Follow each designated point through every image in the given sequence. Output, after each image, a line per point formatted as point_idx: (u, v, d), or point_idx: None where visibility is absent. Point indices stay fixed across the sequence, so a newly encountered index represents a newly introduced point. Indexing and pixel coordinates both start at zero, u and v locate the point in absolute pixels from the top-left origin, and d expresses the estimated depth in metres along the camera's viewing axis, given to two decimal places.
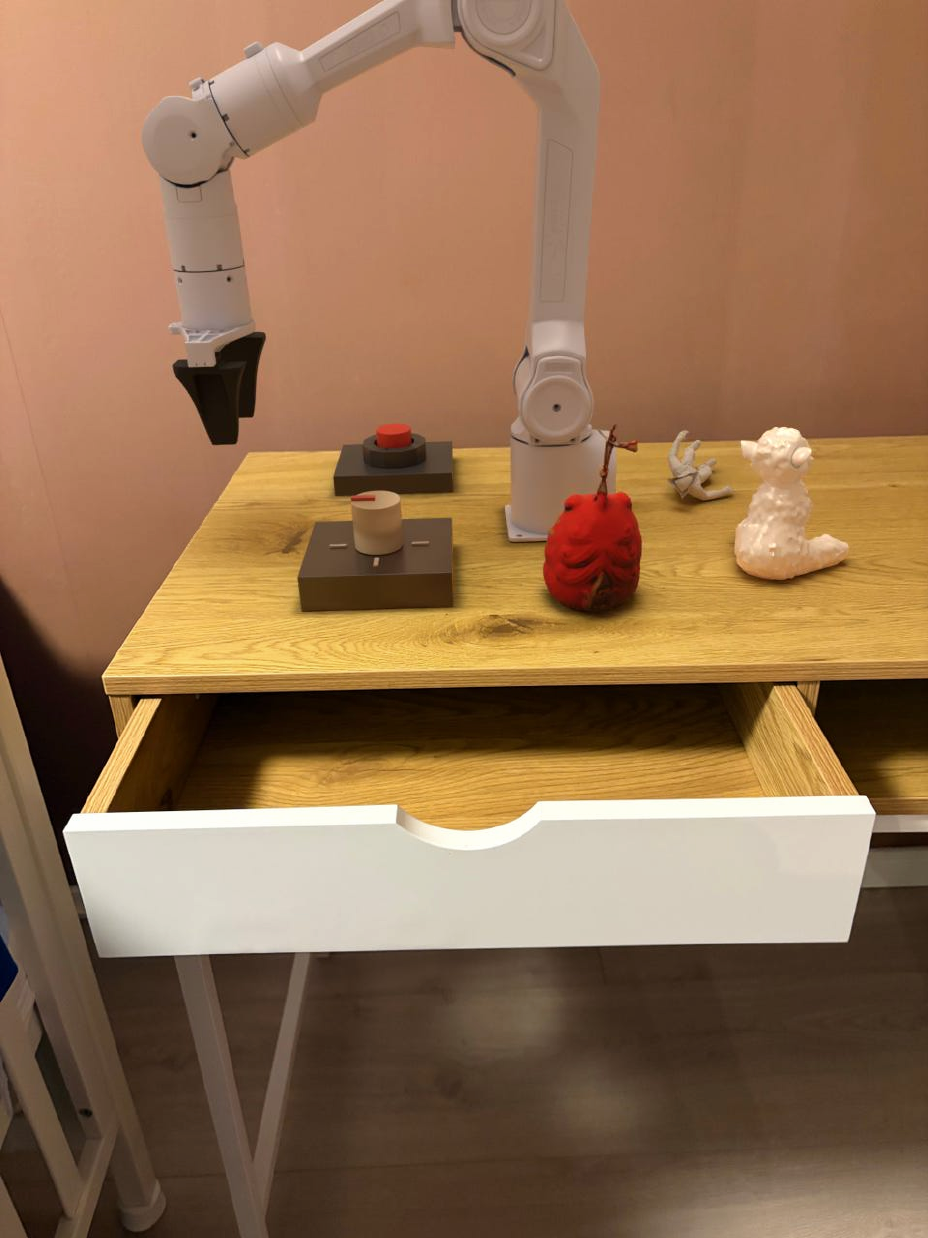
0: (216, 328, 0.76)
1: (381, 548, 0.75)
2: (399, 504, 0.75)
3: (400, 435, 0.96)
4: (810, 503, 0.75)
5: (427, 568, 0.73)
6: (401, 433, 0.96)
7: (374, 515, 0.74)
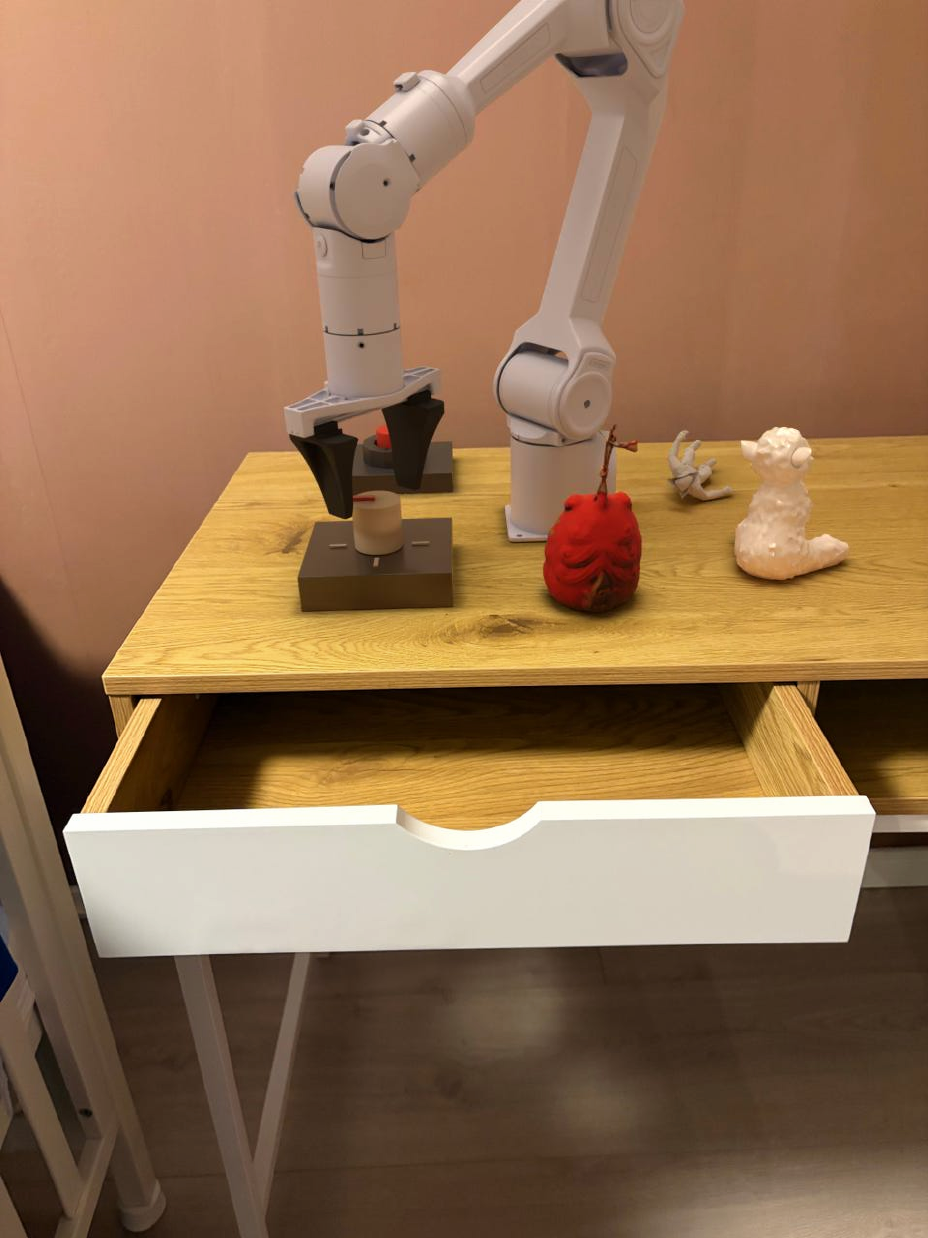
0: (343, 395, 0.69)
1: (381, 548, 0.75)
2: (399, 504, 0.75)
3: None
4: (810, 503, 0.75)
5: (427, 568, 0.73)
6: None
7: (374, 515, 0.74)
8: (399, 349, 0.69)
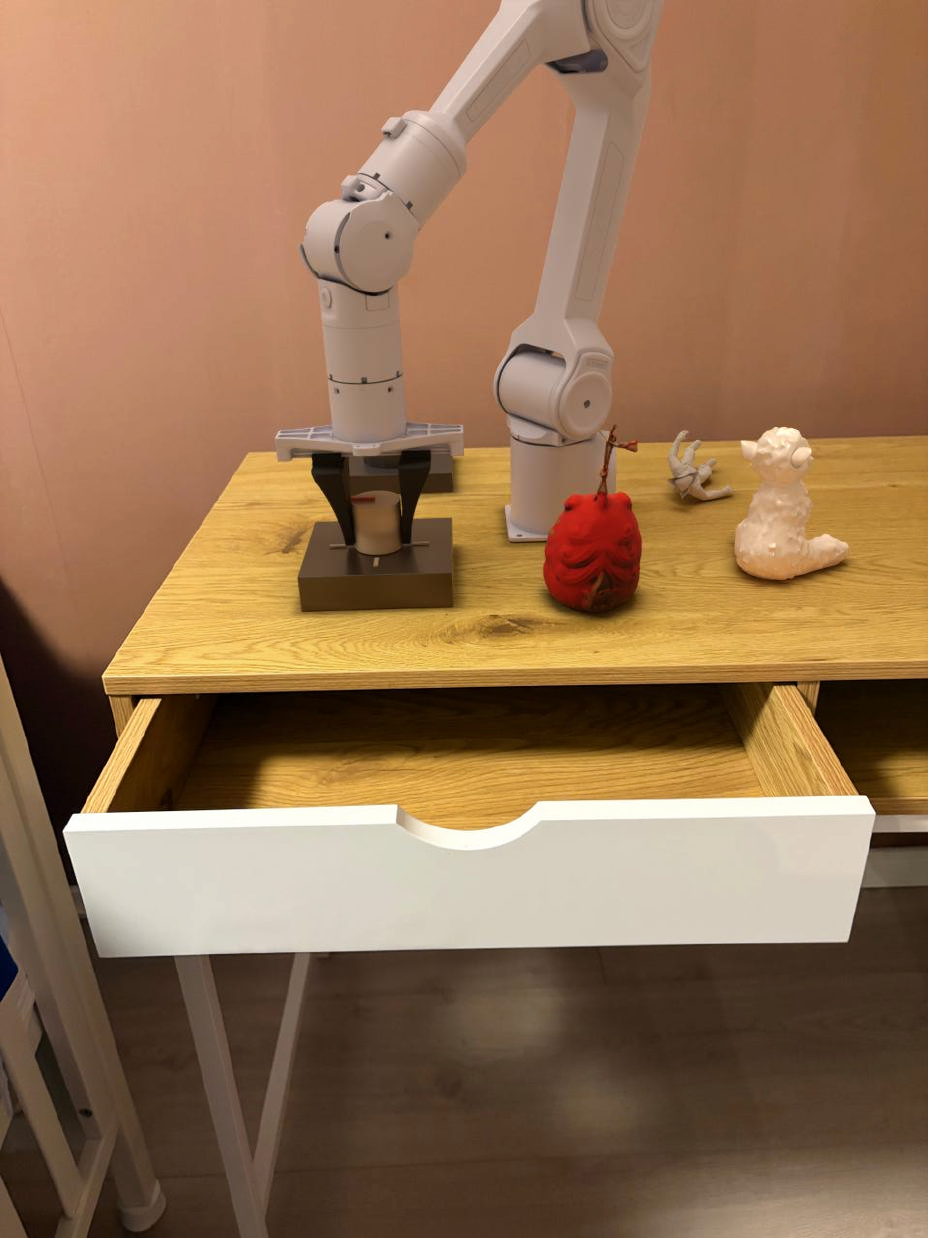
0: (407, 426, 0.73)
1: (381, 548, 0.75)
2: (399, 504, 0.75)
3: None
4: (810, 503, 0.75)
5: (427, 568, 0.73)
6: None
7: (374, 515, 0.74)
8: None
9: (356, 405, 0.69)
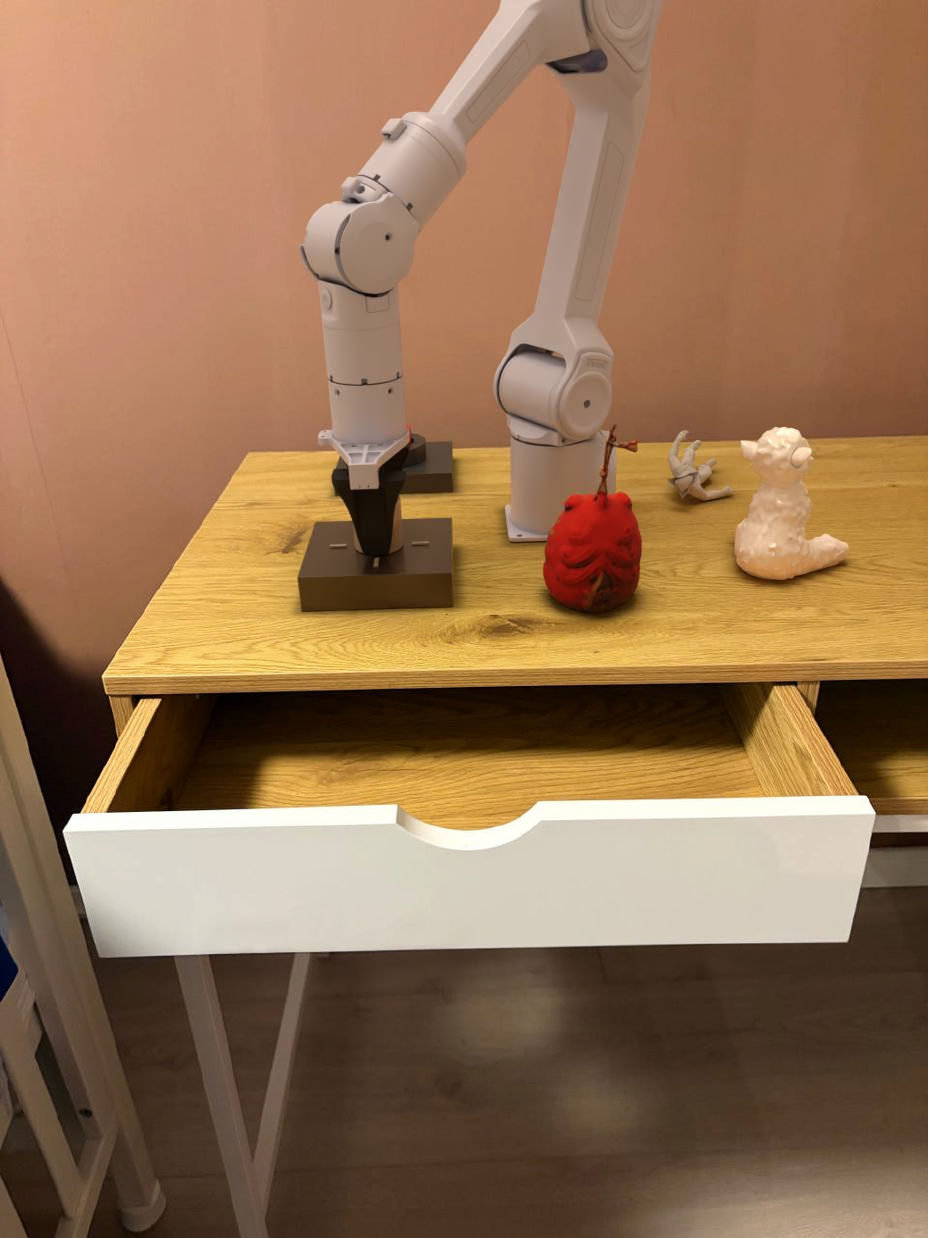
0: (374, 442, 0.70)
1: (354, 541, 0.77)
2: None
3: None
4: (810, 503, 0.75)
5: (427, 568, 0.73)
6: None
7: None
8: None
9: None
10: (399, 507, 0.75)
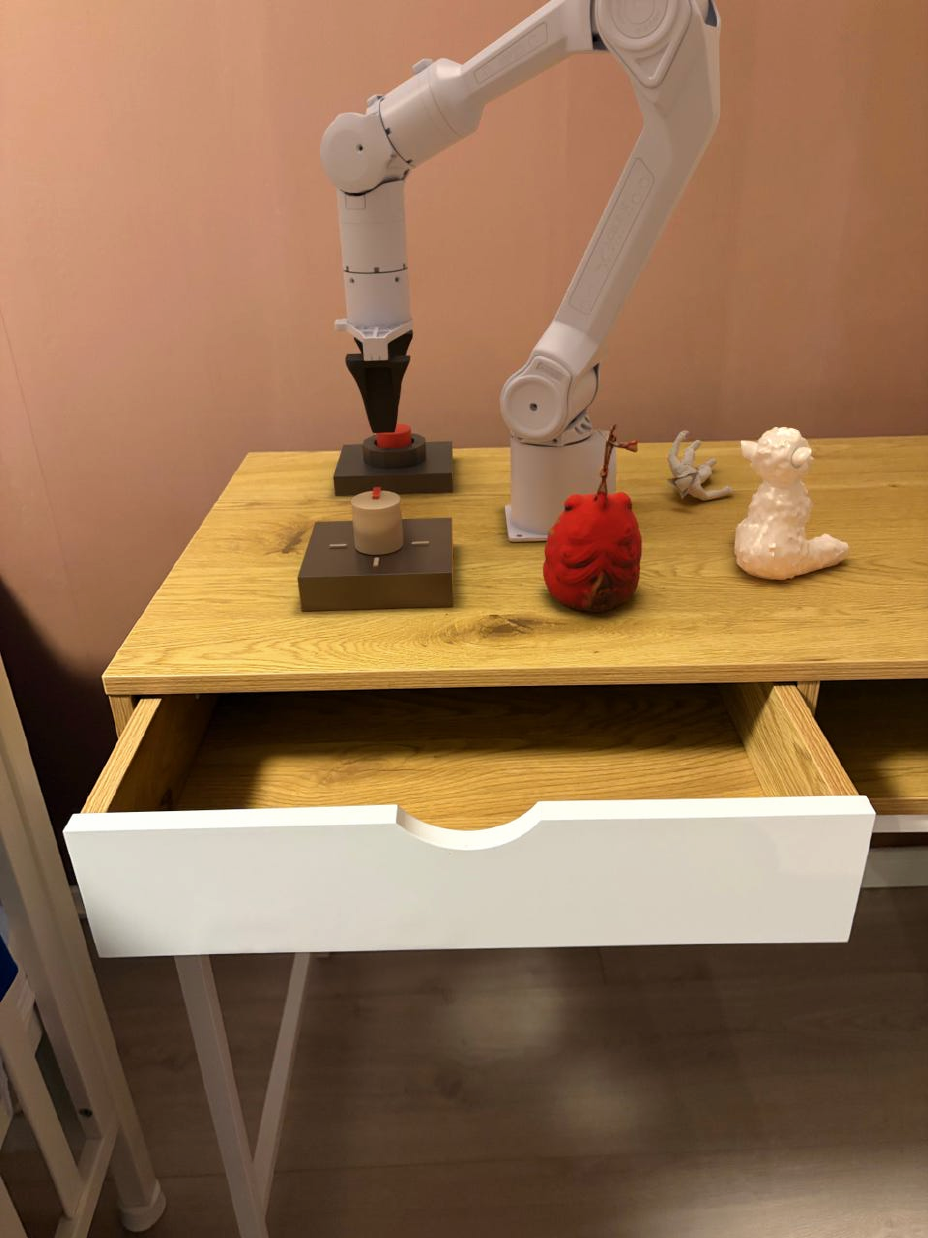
0: (383, 325, 0.82)
1: (354, 541, 0.77)
2: (366, 511, 0.74)
3: (400, 435, 0.96)
4: (810, 503, 0.75)
5: (427, 568, 0.73)
6: (401, 433, 0.96)
7: None
8: None
9: None
10: (399, 507, 0.75)
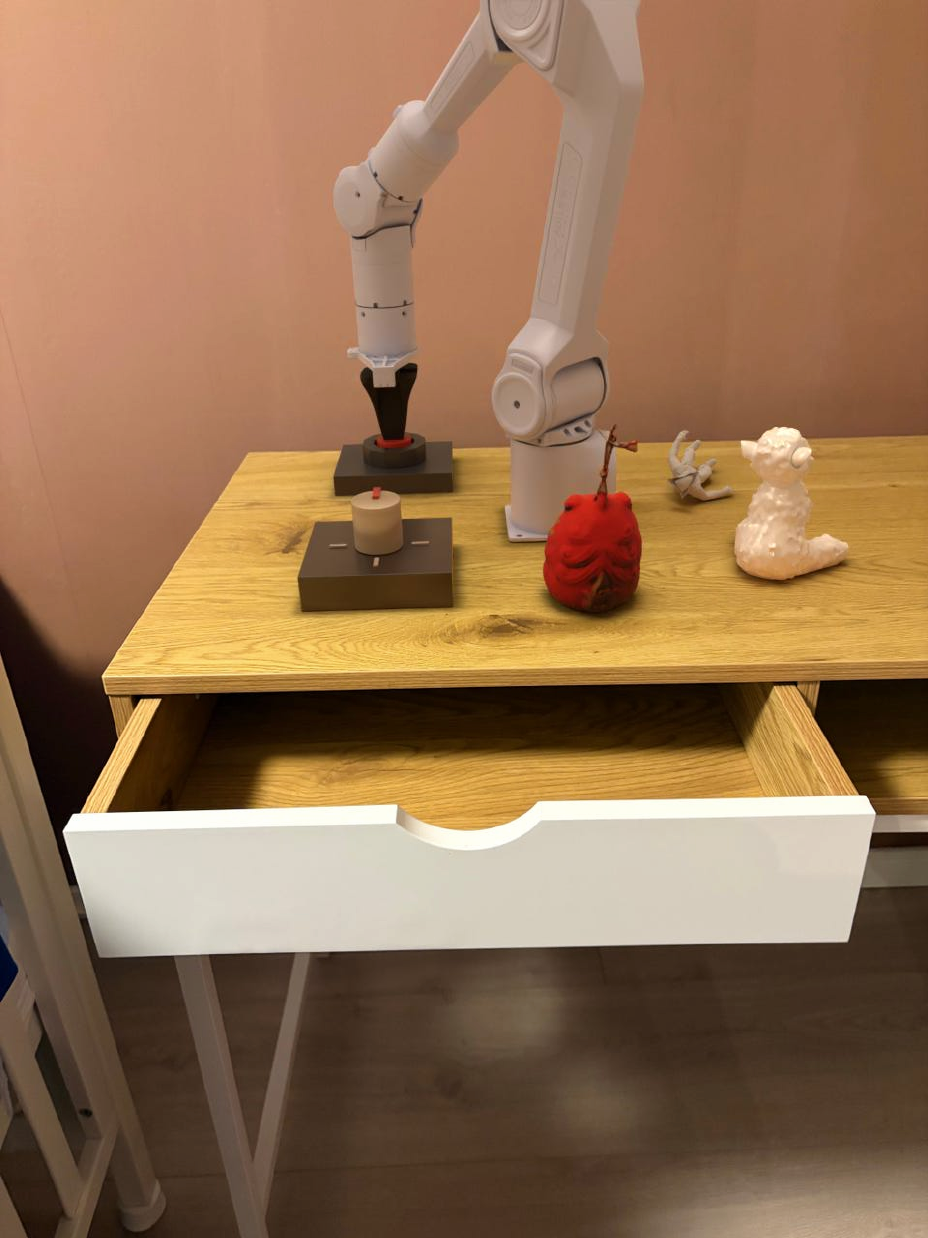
0: (391, 354, 0.91)
1: (354, 541, 0.77)
2: (366, 511, 0.74)
3: (400, 445, 0.97)
4: (810, 503, 0.75)
5: (427, 568, 0.73)
6: (401, 442, 0.96)
7: None
8: None
9: None
10: (399, 507, 0.75)
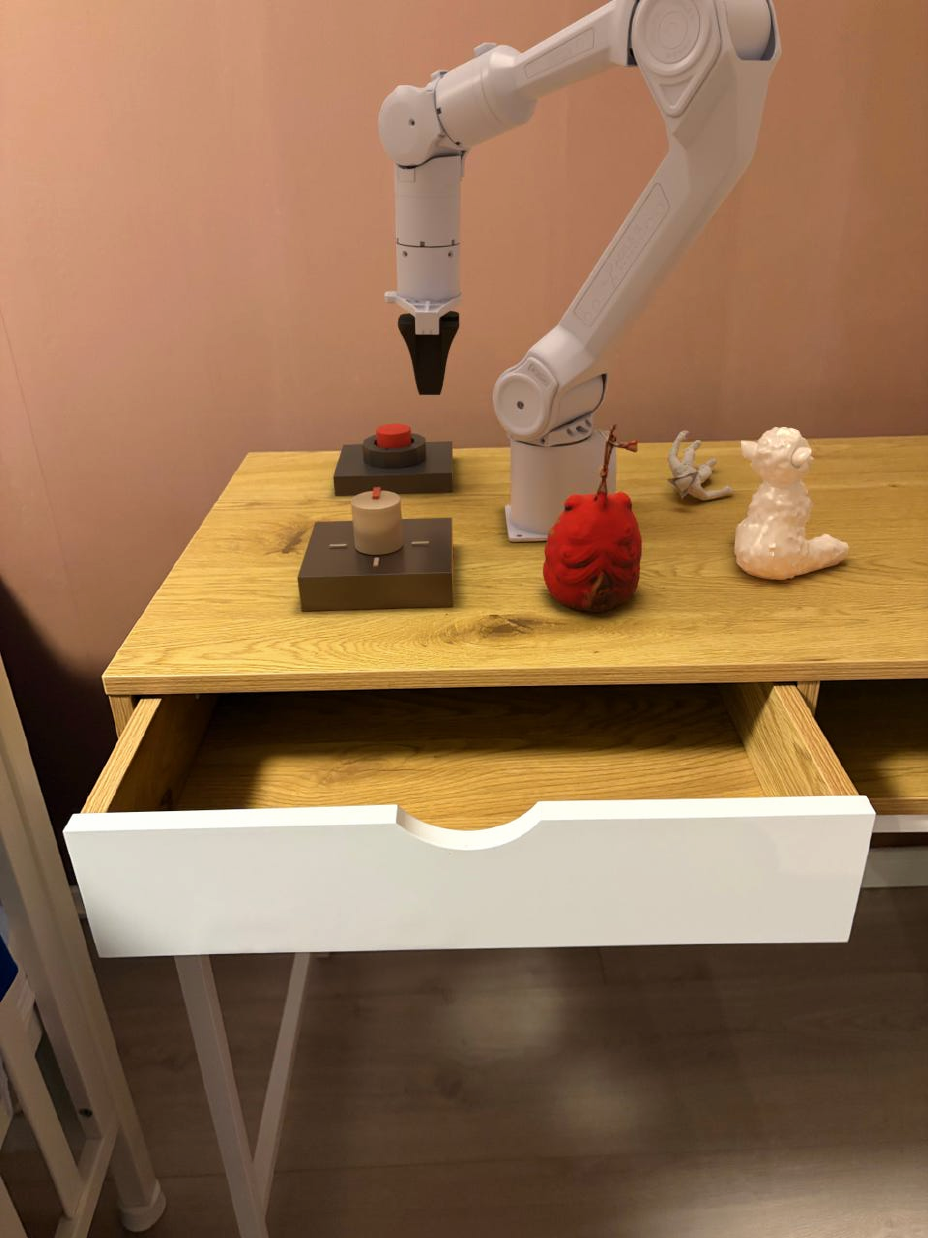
0: (434, 299, 0.83)
1: (354, 541, 0.77)
2: (366, 511, 0.74)
3: (400, 435, 0.96)
4: (810, 503, 0.75)
5: (427, 568, 0.73)
6: (401, 433, 0.96)
7: None
8: None
9: None
10: (399, 507, 0.75)
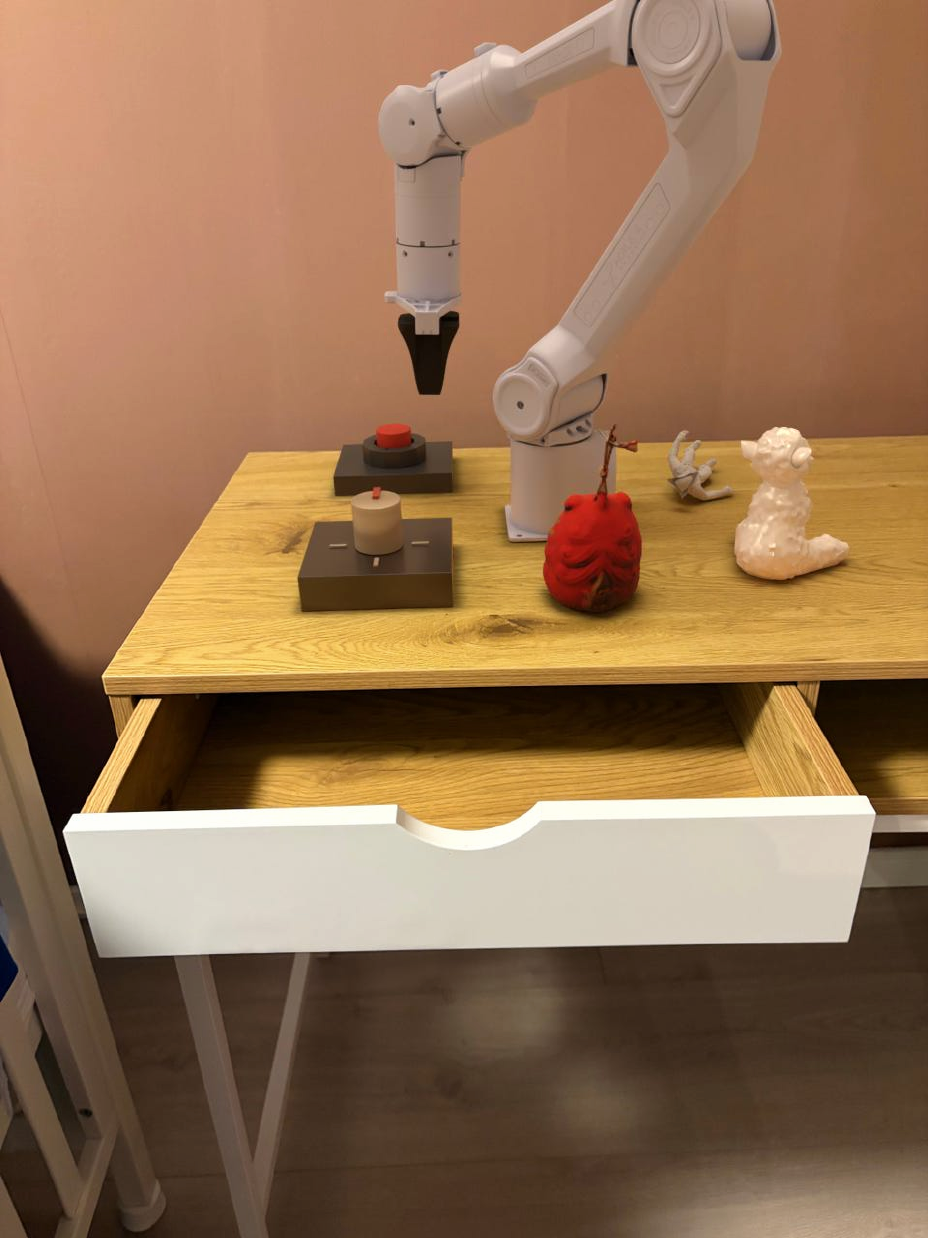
0: (434, 299, 0.83)
1: (354, 541, 0.77)
2: (366, 511, 0.74)
3: (400, 435, 0.96)
4: (810, 503, 0.75)
5: (427, 568, 0.73)
6: (401, 433, 0.96)
7: None
8: None
9: None
10: (399, 507, 0.75)
